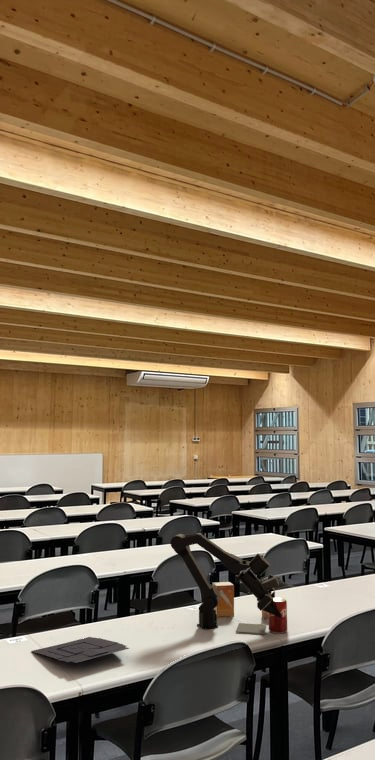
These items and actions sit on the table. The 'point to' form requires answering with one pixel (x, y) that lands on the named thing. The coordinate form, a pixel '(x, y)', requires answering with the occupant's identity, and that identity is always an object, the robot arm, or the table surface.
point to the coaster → (251, 628)
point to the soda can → (276, 622)
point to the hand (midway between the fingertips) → (281, 613)
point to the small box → (225, 599)
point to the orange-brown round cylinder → (265, 615)
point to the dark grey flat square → (81, 649)
